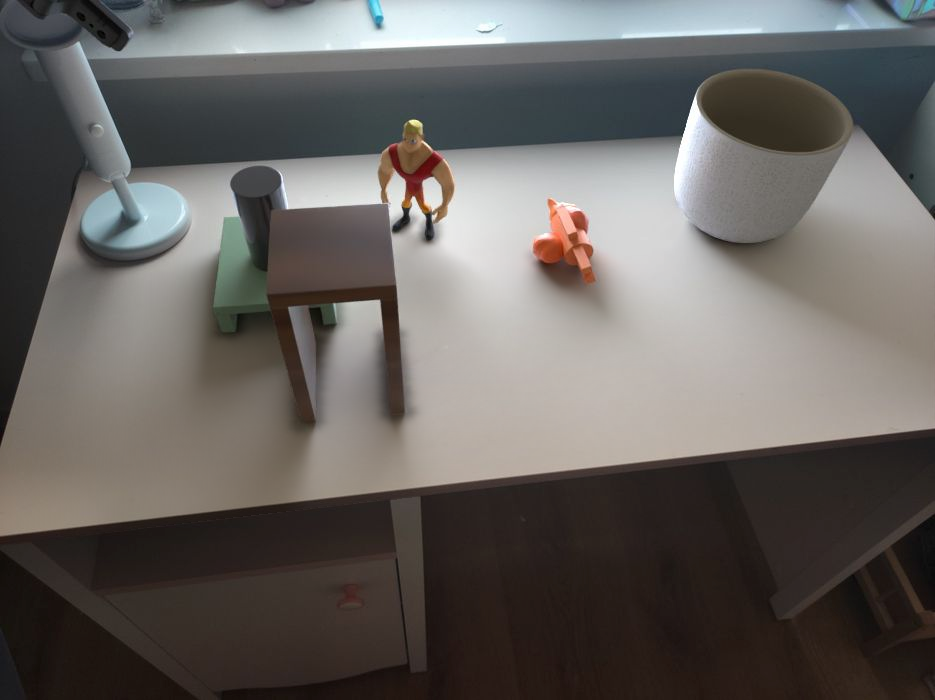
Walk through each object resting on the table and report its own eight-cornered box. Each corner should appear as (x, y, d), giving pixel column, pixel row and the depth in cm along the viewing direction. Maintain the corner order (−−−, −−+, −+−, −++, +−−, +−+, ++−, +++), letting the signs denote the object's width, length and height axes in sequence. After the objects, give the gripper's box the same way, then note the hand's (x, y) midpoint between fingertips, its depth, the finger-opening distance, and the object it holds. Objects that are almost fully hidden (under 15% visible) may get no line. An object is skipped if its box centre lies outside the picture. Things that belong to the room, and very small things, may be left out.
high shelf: (405, 413, 69) (396, 285, 55) (301, 423, 68) (265, 294, 54) (397, 335, 75) (388, 202, 61) (302, 343, 74) (270, 209, 60)
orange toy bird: (609, 251, 76) (574, 183, 83) (543, 276, 77) (515, 205, 84) (614, 281, 80) (581, 212, 87) (552, 303, 81) (524, 234, 88)
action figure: (373, 227, 86) (363, 119, 74) (385, 210, 88) (377, 101, 76) (446, 247, 84) (447, 139, 72) (456, 229, 86) (459, 120, 74)
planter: (823, 252, 86) (885, 146, 74) (694, 270, 83) (737, 162, 71) (758, 168, 96) (804, 62, 84) (641, 181, 93) (671, 74, 81)
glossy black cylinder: (275, 278, 74) (256, 204, 66) (241, 259, 76) (218, 184, 68) (307, 252, 77) (293, 177, 69) (273, 234, 79) (255, 159, 71)
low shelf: (336, 324, 76) (332, 298, 73) (222, 333, 75) (212, 307, 71) (334, 236, 85) (330, 210, 81) (231, 243, 83) (223, 217, 80)
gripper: (-124, -193, 40) (128, 31, 48) (29, -249, 49) (221, -52, 57) (-145, -100, 45) (87, 91, 53) (-2, -167, 54) (179, 5, 61)
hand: (156, 16), depth 55 cm, fingers open, 8 cm apart
